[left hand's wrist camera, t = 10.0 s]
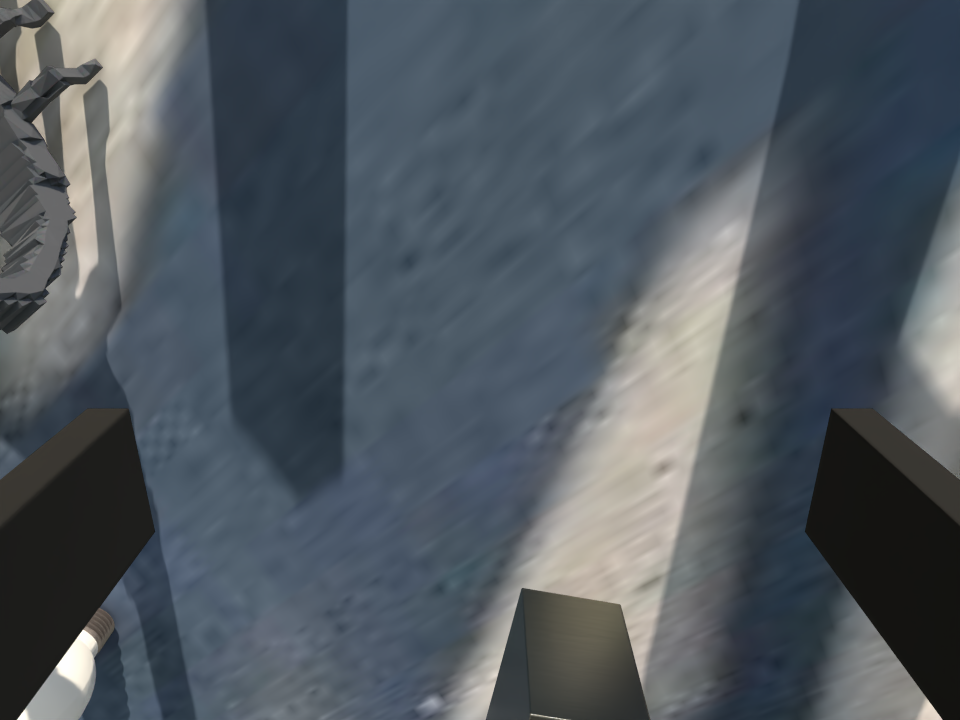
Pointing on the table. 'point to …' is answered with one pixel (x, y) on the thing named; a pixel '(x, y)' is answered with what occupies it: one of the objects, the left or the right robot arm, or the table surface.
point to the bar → (567, 663)
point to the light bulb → (72, 675)
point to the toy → (31, 181)
